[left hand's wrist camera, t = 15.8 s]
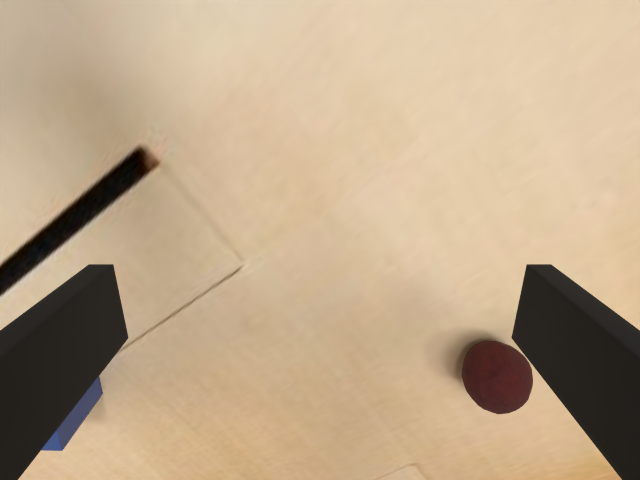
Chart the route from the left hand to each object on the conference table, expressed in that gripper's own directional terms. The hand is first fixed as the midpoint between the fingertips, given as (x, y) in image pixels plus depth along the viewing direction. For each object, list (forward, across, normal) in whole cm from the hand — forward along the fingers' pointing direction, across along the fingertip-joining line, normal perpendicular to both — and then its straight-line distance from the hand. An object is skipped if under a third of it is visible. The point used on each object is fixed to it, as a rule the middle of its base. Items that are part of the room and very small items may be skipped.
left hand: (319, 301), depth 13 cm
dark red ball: (+28, +20, -23) cm, 41 cm away
